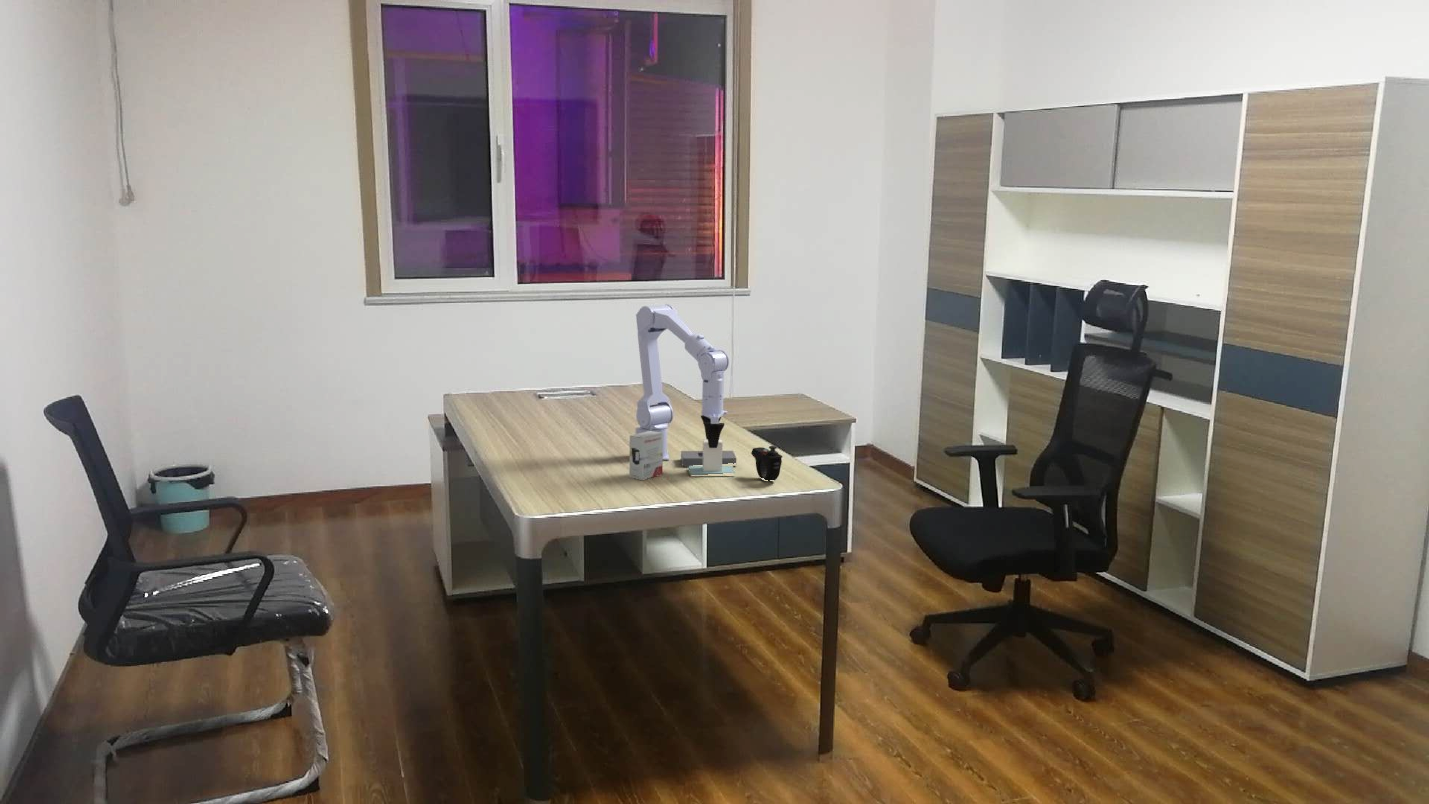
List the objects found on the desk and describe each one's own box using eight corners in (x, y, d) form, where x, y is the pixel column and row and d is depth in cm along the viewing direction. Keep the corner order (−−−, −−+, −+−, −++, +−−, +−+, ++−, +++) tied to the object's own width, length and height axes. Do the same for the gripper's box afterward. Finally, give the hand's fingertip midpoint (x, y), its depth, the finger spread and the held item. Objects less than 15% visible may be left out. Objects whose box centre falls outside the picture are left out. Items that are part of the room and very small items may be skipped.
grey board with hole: (682, 467, 306) (682, 458, 306) (681, 459, 315) (681, 450, 315) (736, 466, 308) (736, 458, 307) (732, 459, 316) (733, 450, 316)
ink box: (650, 471, 301) (650, 429, 299) (663, 474, 298) (663, 432, 296) (628, 477, 294) (628, 434, 292) (641, 480, 291) (642, 437, 289)
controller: (769, 486, 288) (770, 449, 286) (748, 475, 299) (749, 439, 297) (783, 485, 289) (784, 448, 287) (762, 474, 300) (763, 438, 299)
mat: (690, 476, 296) (690, 473, 296) (688, 469, 304) (688, 465, 304) (734, 476, 297) (734, 472, 297) (731, 469, 305) (731, 465, 305)
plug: (703, 471, 298) (704, 442, 297) (702, 467, 302) (702, 439, 301) (722, 471, 299) (722, 442, 297) (720, 467, 303) (721, 439, 301)
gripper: (730, 400, 290) (729, 450, 292) (725, 390, 304) (723, 438, 307) (703, 400, 289) (702, 450, 292) (699, 390, 303) (698, 438, 306)
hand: (711, 444), depth 299 cm, fingers open, 7 cm apart
